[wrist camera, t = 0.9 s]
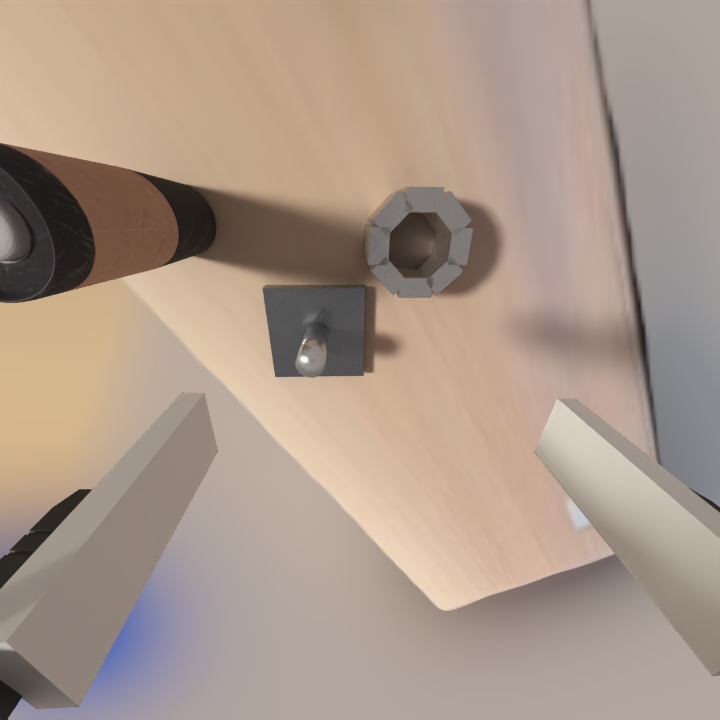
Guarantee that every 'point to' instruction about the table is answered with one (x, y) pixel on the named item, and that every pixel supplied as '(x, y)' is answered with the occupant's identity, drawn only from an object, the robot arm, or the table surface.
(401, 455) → the table surface
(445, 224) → the ring
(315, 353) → the shaft block
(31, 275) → the travel mug
